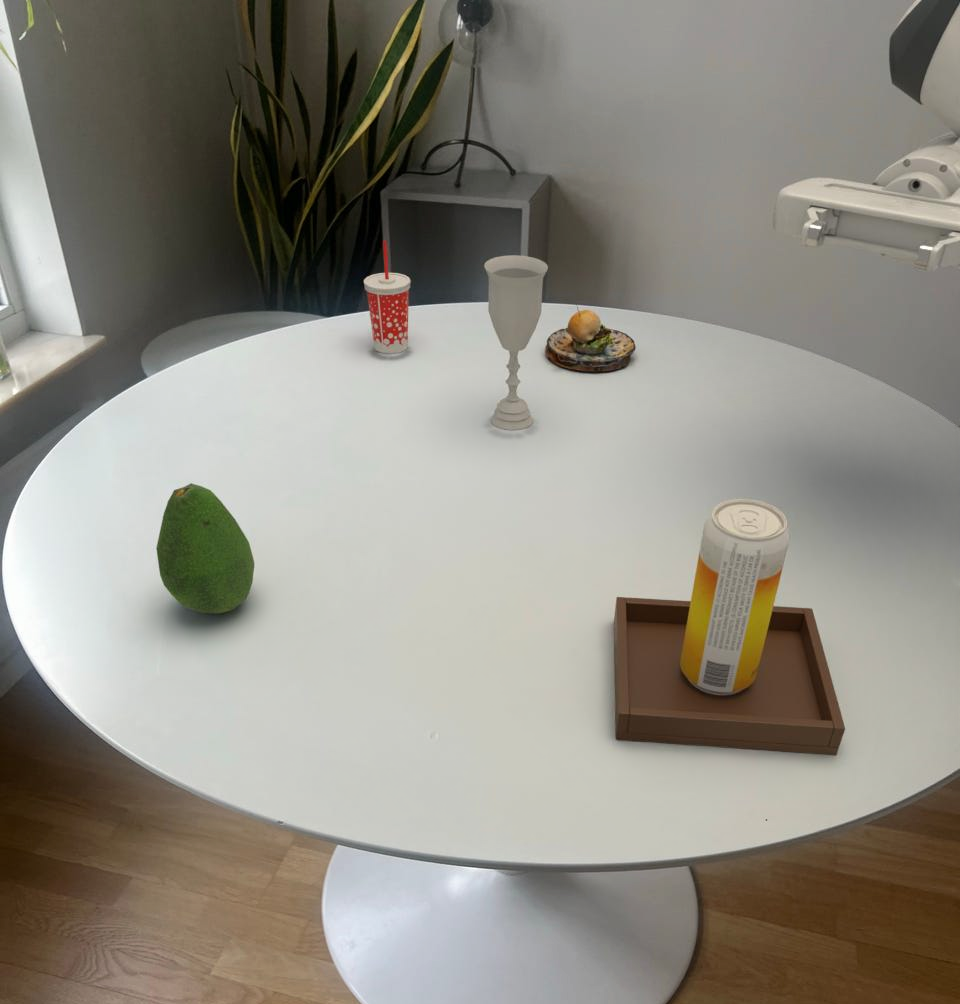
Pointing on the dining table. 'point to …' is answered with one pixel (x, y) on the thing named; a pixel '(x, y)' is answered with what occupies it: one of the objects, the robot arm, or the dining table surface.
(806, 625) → the serving tray
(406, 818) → the dining table surface
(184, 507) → the avocado
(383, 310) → the beverage cup
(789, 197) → the robot arm
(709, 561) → the beer can
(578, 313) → the burger
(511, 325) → the chalice
